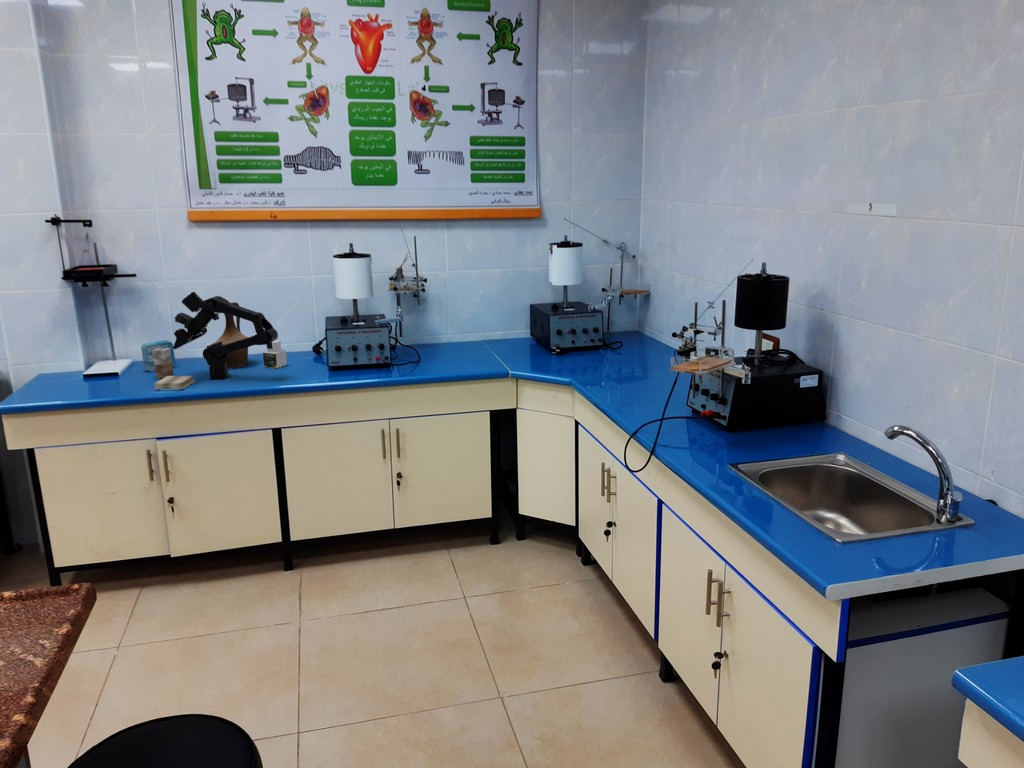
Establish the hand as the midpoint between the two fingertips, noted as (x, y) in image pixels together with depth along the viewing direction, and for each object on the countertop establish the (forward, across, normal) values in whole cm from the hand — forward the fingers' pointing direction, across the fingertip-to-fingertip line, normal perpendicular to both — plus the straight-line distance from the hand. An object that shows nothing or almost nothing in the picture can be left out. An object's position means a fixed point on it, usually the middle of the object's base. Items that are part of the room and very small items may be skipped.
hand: (179, 346), depth 321 cm
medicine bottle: (-14, -18, +33) cm, 40 cm away
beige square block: (+7, +15, +12) cm, 20 cm away
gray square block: (+15, 0, +4) cm, 16 cm away
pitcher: (0, -21, +20) cm, 29 cm away
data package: (+21, -13, -2) cm, 25 cm away
